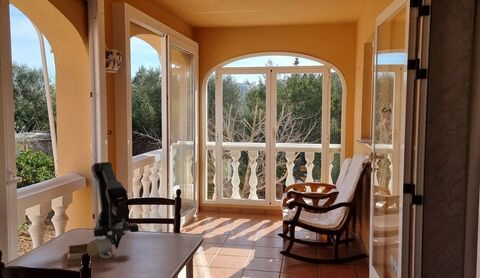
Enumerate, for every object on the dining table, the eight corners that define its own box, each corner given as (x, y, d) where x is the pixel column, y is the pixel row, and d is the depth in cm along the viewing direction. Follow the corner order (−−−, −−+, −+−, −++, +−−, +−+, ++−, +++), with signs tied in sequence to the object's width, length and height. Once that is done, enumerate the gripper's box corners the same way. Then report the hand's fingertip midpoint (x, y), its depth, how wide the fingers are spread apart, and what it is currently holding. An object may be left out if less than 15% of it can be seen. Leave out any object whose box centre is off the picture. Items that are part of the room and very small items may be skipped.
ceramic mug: (85, 256, 166) (85, 239, 165) (100, 250, 173) (100, 234, 173) (103, 261, 161) (103, 243, 161) (117, 255, 169) (117, 238, 168)
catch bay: (68, 252, 171) (67, 245, 171) (96, 248, 176) (96, 242, 176) (67, 266, 155) (67, 259, 155) (98, 262, 160) (98, 255, 160)
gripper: (94, 220, 159) (95, 257, 160) (140, 215, 167) (141, 251, 168) (92, 214, 169) (93, 249, 170) (136, 210, 177) (136, 243, 178)
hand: (116, 248), depth 171 cm, fingers closed
